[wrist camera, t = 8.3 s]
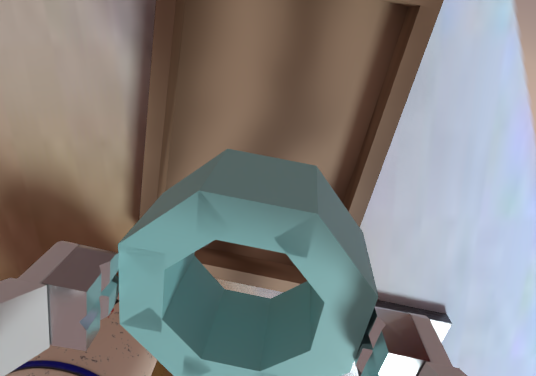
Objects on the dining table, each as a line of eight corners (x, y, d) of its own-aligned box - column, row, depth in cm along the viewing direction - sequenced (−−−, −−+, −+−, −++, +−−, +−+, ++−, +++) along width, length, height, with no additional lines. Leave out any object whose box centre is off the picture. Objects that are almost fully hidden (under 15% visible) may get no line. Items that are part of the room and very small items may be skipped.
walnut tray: (148, 242, 27) (136, 262, 25) (177, -70, 19) (162, -83, 17) (328, 279, 28) (332, 301, 26) (429, -8, 20) (448, -13, 18)
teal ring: (165, 136, 11) (116, 174, 8) (380, 178, 11) (403, 230, 8) (156, 356, 15) (121, 430, 12) (312, 389, 15) (312, 472, 12)
